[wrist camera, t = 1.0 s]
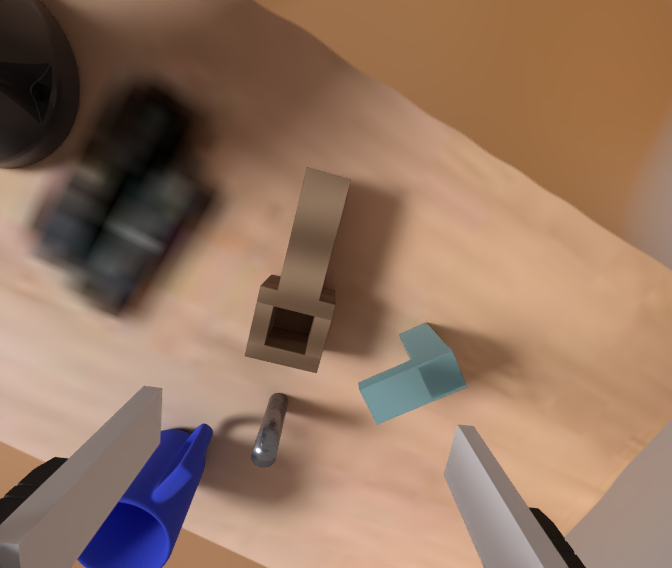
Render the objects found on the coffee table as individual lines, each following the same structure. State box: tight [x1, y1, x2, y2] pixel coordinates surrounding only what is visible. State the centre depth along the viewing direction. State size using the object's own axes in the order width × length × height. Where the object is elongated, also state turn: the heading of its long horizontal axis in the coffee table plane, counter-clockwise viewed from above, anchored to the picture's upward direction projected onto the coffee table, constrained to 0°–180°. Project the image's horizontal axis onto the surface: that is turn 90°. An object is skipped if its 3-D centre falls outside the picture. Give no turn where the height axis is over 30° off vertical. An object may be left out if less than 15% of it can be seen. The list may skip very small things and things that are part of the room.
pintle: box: [251, 393, 288, 467], centre depth 30 cm, size 2×2×8 cm
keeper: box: [358, 323, 467, 425], centre depth 30 cm, size 4×8×7 cm, turn 115°
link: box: [245, 167, 351, 373], centre depth 29 cm, size 16×6×5 cm, turn 165°
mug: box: [77, 424, 213, 568], centre depth 30 cm, size 8×12×10 cm
